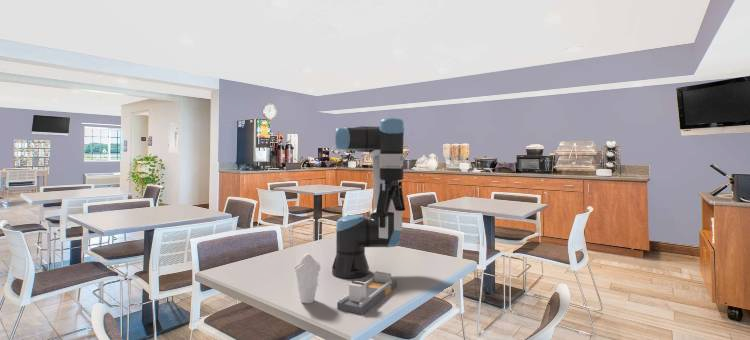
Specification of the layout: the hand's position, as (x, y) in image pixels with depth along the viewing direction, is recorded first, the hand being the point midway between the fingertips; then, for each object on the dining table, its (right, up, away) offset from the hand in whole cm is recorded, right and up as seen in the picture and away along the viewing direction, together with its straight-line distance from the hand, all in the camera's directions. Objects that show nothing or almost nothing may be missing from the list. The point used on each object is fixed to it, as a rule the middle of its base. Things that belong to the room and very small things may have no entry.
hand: (391, 234), depth 116 cm
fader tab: (-11, -21, -1) cm, 23 cm away
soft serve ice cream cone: (-27, -23, +3) cm, 36 cm away
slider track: (-7, -23, +7) cm, 25 cm away
